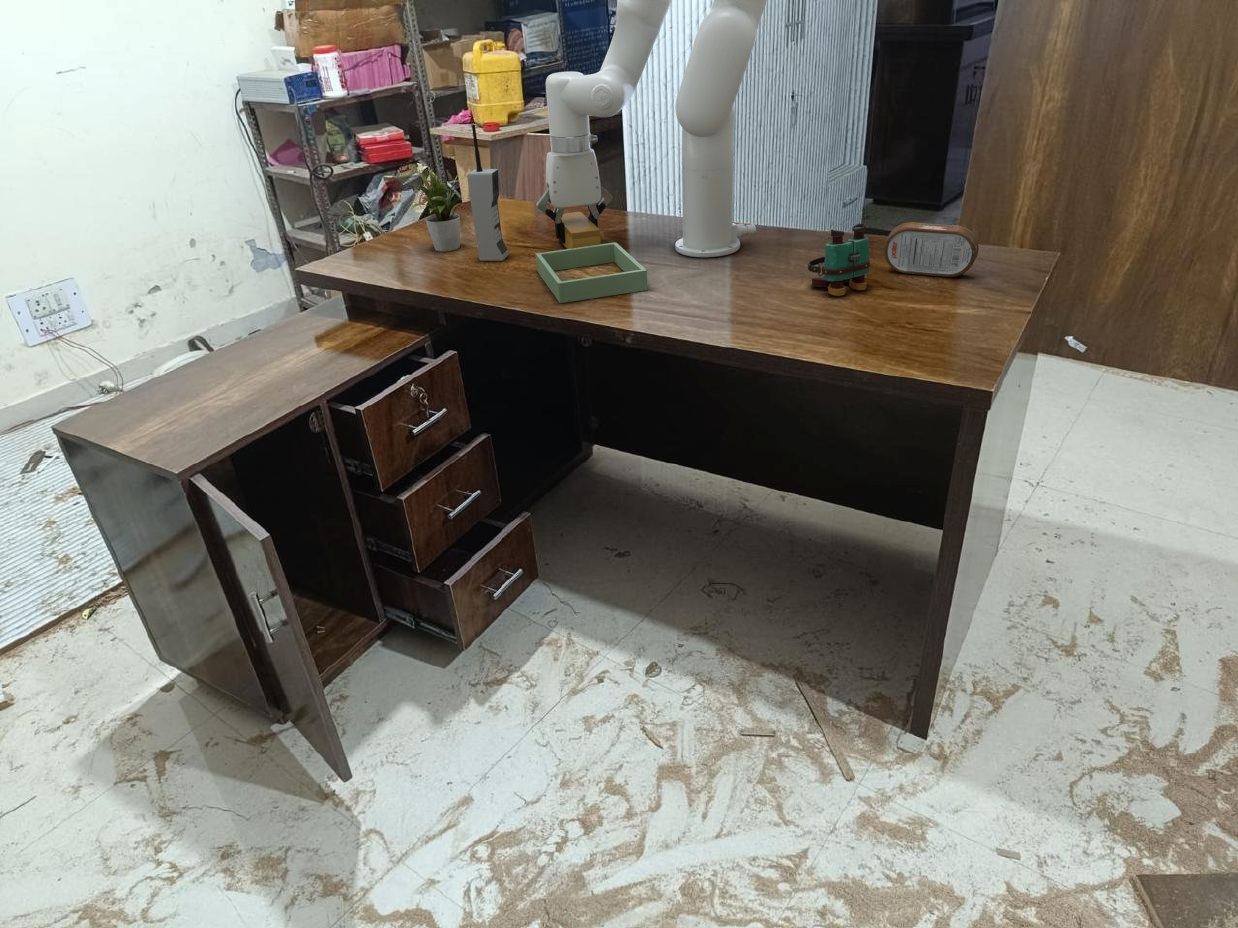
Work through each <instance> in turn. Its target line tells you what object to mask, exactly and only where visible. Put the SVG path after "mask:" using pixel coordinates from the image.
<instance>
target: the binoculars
mask: <svg viewBox="0 0 1238 928" xmlns="http://www.w3.org/2000/svg"><path fill="white" fill-rule="evenodd" d="M866 230H867V223H865V222H861V223H856V224H855V225H853V226H852V232H853V237H851V238H848V240H847V241H846V240H844V236H845V231H842V230H836V229H830V237H832V239H831V240H832V242H827V243H826V244H825V249H824V256H821V257H817V258H814V259H812V260H810V261H809V262H808V263H807V270H808V271H809V272H811V273H816V274H817V276H818V277H812V278H811V287H822V288H827V292H828V293H829V295H832V296H835V297H840V296H841V297H842V296H844V295H845V294H846V286H845V285H844V284H847V283H848V286H849V287H850V288H851V289H853V290H856V291H865V290H867V287H868V286H867V284H868V282H867V280H865V278H866V277H865V275H867V274H869V273H870V265H871V261H870V246H869V245H870V243H869V237H868V236H865V232H866ZM822 276H823V277H822Z"/></svg>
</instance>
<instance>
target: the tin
mask: <svg viewBox="0 0 1238 928" xmlns="http://www.w3.org/2000/svg"><path fill="white" fill-rule="evenodd" d="M979 247H980V246H979V241H978V239H977V237H976V235H975V233H973V232H972V231H971V230H970V229H968V228H966V227H964V226H961V225H954V224H953V225H952V224H939V223H926V222H925V223H924V222H916V221H915V222H914V221H913V222H912V221H909V222H905V223H901V224H899V225H897V226H896V227H894V228H893V229H892V230H891V231H890V232H889V234H888V236H887V238H886V241H885V243H884V249H883V253H884V258H885V261H886V262H887V264H888V266H889V267H891V269H893V270H894V271H897V272H899V273H902V274H906V275H907V274H908V275H909V274H910V275H919V276H928V277H929V276H931V277H941V278H955V277H959V276H961V275H964V274H965V273H967V272H968V271H969V270H970V269H971V268H972V266H973V265H974V263H975V261H976V260H977V257H978V255H979V249H980V248H979Z"/></svg>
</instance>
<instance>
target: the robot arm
mask: <svg viewBox="0 0 1238 928" xmlns="http://www.w3.org/2000/svg"><path fill="white" fill-rule="evenodd" d="M672 2H673V0H617V4H616V10H615V18H616V20H615V27H614V31H613V36H612V37H611V38H612V39H611V42H610V44H609V47H608V50H607V52H606V55H605V57H604V59H603V61H602V65H601V67H600V69H599V71H598V72H595V73H591V74H584V73H582V72H579V71H559V72H553V73H551V74H549V75H548V76H547V77H546V79H545V93H546V105H547V107H546V108H547V117H548V127H549V141H550V142H549V143H550V151H548V152H547V153H546V160H545V191H544V192H543V194H542V195H541V197H540V198H539V199H538V201H537V202H536V204H535V205H536V207H537V209H538V210H539V211H541V212H542V213H543V214H544V215H546V216H547V217H549V219H551V220H552V221H553V222H554V231H555V238H556V239H557V240H559V242H560V243H561V245H563V243H565V230H564V223H563V222H562V216H563V214H564V211H565V209H567V208H569V209H570V208H576V207H584V206H586V207H587V210H588V213H589V215H588V217H587V218H588V219H589V220H590V221H591V222H592V223H593V224H594V225H595V226H596V227H597V228H599V221H598V220H599V218H600V215H601V214H602V213H603V211H604V210H605V209H606V207H607V206H608V205H609V204H610V203H611V202H612V200H614V199H613V198H614V197H613V196H612V194H611V193H610V192H609V191H608V190H607V189H605V187H603V186H602V184H601V179H600V173H599V166H598V161H597V156H596V153H595V150H594V149H593V148H592V146H593V145H594V144H597V143H598V141H599V140H598V139H599V138H598V135H596V134H595V135H594V134H592V133H591V131H590V117H596V118H610V117H613V116H615V115H617V114H618V113H619V112H621V110H622V109H623V108H625V107H626V106H627V105H628V104H629V103H630V101H631V99H632V98H633V95H634V93H635V91H636V88H637V86H638V84H639V82H640V79H641V77H642V75H643V73H644V70H645V68H646V65H647V63H648V60H649V58H650V56H651V53H652V50H653V48H654V47H653V46H654V45H655V42H656V41H657V38H658V37H659V34H660V33H661V29H662V27H663V23H664V21H665V19H666V16H667V14H668V11H669V10H670V6H671V3H672ZM767 2H768V0H713V1H712V5H711V7H710V10H709V11H708V13H707V15H706V16H705V17H704V18H703V19H702V21H701V23H700V25H699V27H698V29H697V32H696V35H695V37H694V41H693V43H692V47H691V51H690V54H689V56H688V60H687V64H686V67H685V70H684V73H683V76H682V80H681V83H680V86H679V89H678V93H677V96H676V100H675V115H676V116H675V117H676V119H677V121H678V123H679V126H680V127H681V193H682V194H681V195H682V197H681V198H682V238H679V239H678V240H677V241H676V242H675V244H674V249H675V251H676V252H677V253H678V254H680V255H682V256H687V257H693V258H716V257H723V256H728V255H731V254H733V253H736V252H738V251H739V250H740V248H741V241H740V238H741V237H742V236H751V235H756V234H757V227H756V225H755V224H754V223H752V224H745V223H735V222H733V211H734V210H733V209H734V208H733V207H734V205H733V201H734V156H735V155H734V153H735V152H734V151H735V150H734V149H735V148H734V147H735V120H736V100H737V97H738V93H739V91H740V88H741V85H742V82H743V79H744V77H745V73H746V70H747V67H748V65H749V62H750V59H751V56H752V52H753V50H754V48H755V44H756V40H757V35H758V33H757V32H758V29H759V25H760V22H761V18H762V16H763V13H764V10H765V7H766V4H767ZM548 203H549V204H551V206H552V207H553V210H552V209H551V208H549V207H548V206H547V204H548Z"/></svg>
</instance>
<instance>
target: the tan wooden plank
mask: <svg viewBox="0 0 1238 928" xmlns="http://www.w3.org/2000/svg"><path fill="white" fill-rule="evenodd" d="M562 222H563V223H564V230H565V243H563V244H562V245H563V246H564V247H565V248H566V249H572V248H579V247H586V246H594V245H601V244H602V243H601V230H600V228H599V227H598V228H597V227H596V226H595V225H594V224H593V223H592V222H591V221H590V220H589V219H588V217H587V216H586V215H585V214H584V213H583V212H582V211H574V212H565V213H563V216H562Z"/></svg>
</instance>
